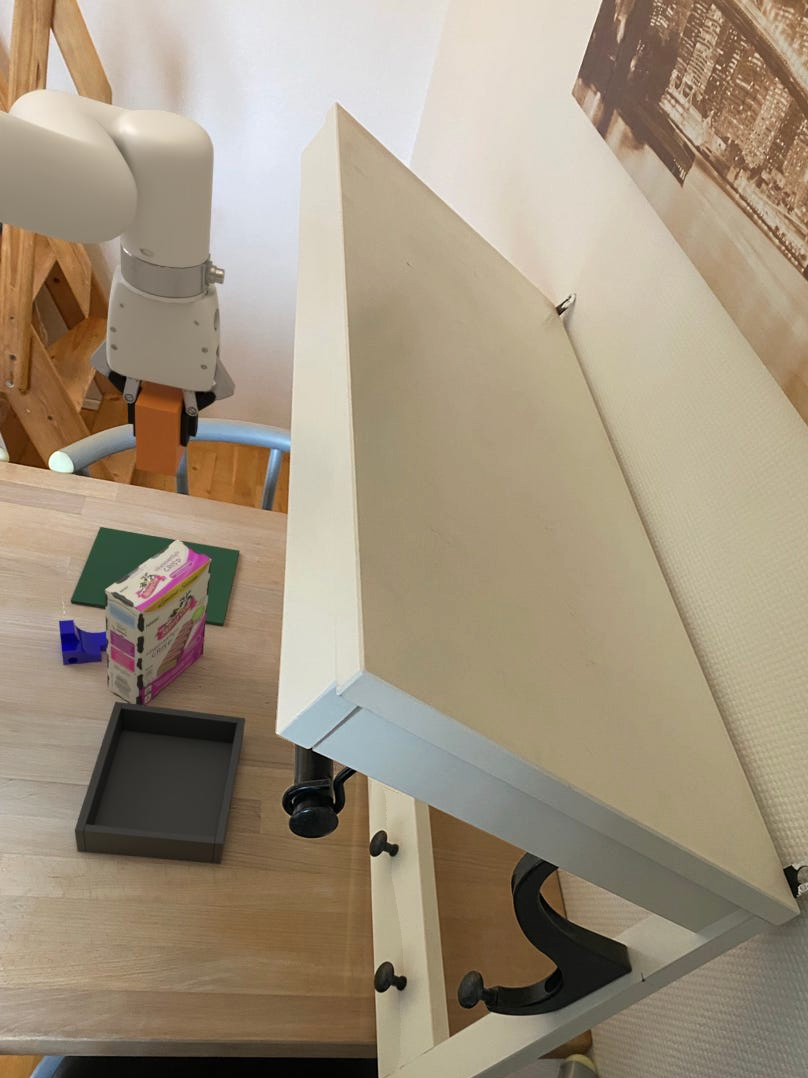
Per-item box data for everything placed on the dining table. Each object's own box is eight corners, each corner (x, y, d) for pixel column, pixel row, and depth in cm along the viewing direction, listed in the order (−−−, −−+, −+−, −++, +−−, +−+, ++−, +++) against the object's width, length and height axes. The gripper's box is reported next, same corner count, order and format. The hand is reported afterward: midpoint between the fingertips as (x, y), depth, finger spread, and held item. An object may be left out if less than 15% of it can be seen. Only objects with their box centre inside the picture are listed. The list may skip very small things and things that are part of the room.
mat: (70, 603, 103) (70, 600, 103) (100, 529, 113) (100, 526, 112) (223, 626, 107) (223, 623, 107) (239, 553, 117) (239, 550, 116)
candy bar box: (142, 713, 95) (141, 613, 84) (106, 691, 96) (100, 589, 85) (206, 656, 103) (213, 557, 92) (173, 636, 104) (176, 535, 93)
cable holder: (63, 667, 97) (61, 643, 94) (61, 644, 99) (58, 620, 96) (138, 659, 100) (138, 637, 97) (134, 638, 102) (134, 615, 99)
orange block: (136, 469, 89) (134, 404, 84) (150, 432, 94) (150, 367, 88) (175, 477, 90) (177, 412, 84) (188, 439, 95) (190, 376, 89)
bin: (77, 853, 83) (74, 830, 80) (116, 725, 93) (115, 701, 90) (220, 865, 86) (223, 844, 83) (242, 741, 97) (245, 717, 94)
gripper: (263, 273, 82) (248, 431, 95) (79, 227, 78) (89, 398, 91) (252, 309, 77) (238, 471, 89) (54, 261, 73) (68, 438, 86)
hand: (163, 433), depth 90 cm, fingers closed on orange block, 4 cm apart
